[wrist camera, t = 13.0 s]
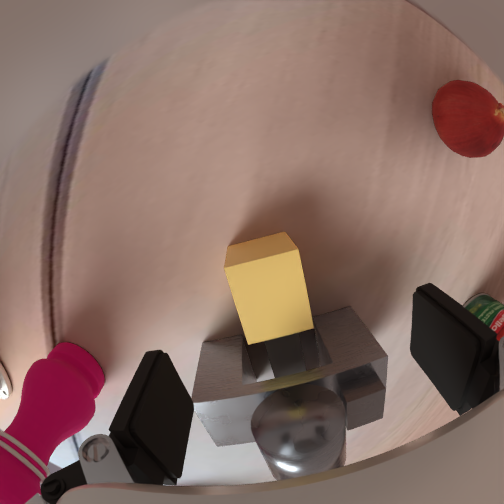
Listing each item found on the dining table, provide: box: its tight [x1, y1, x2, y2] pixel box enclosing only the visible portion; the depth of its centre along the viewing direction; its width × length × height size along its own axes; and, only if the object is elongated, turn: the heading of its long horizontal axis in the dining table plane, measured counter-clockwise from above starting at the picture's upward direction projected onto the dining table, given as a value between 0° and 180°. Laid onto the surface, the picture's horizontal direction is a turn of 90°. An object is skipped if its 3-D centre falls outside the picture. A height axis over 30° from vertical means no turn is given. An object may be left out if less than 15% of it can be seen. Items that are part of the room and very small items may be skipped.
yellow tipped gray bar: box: [224, 232, 314, 378], centre depth 19 cm, size 4×20×5 cm, turn 14°
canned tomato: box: [463, 293, 504, 341], centre depth 17 cm, size 8×8×11 cm
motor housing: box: [191, 306, 388, 481], centre depth 16 cm, size 12×5×12 cm, turn 104°
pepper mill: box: [0, 342, 105, 504], centre depth 12 cm, size 7×7×20 cm
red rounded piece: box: [432, 80, 504, 158], centre depth 13 cm, size 6×6×8 cm
